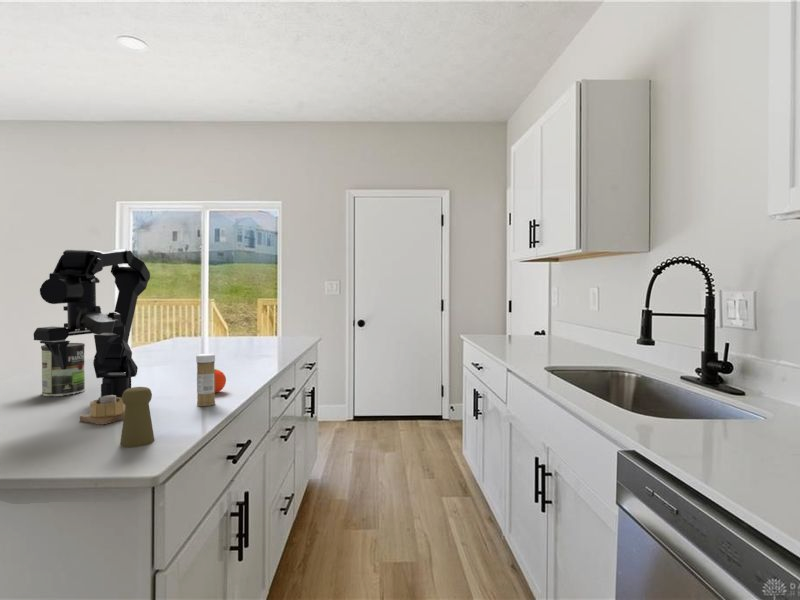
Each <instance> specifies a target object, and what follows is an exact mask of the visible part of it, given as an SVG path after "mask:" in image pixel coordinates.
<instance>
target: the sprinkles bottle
mask: <svg viewBox="0 0 800 600" xmlns="http://www.w3.org/2000/svg"><path fill="white" fill-rule="evenodd" d="M195 360H196V394H197V396H196V397H197V398H196V399H197V402H196V405H197V406H198V407H210V406H214V405H215V404H216V400H215V398H216V396H215V395H216V393H215V371H214V369H215V362H216V354H215V353H200V354H196V359H195Z"/></svg>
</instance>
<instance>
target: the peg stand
mask: <svg viewBox="0 0 800 600" xmlns="http://www.w3.org/2000/svg"><path fill="white" fill-rule="evenodd" d="M99 398H100V403H113V402H116V395H106V396H102V397H101V396H100V397H99ZM122 419H124V414H121V415H117V416H113V417H105V418H95V417H91V416H90V412H89V413H87V414H82V415H79V421H80V422H82V421H85V422H84V423H88V422H92V423H91V424H94V423H98V424H97V425H100V424H106V425H108V424H107V423H110V424H112V423H111V422H113V423H116V422H115V421H117V422H119V421H118V420H120V421H123V420H122Z"/></svg>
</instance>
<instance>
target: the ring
mask: <svg viewBox="0 0 800 600" xmlns="http://www.w3.org/2000/svg"><path fill="white" fill-rule="evenodd" d="M89 413H90V416H91V417H95V418H105V417H113V416H117V415H121V414H124V413H125V404H124V403H123V401H122V398H121V397H116V402H113V403H100V399H99V398H98V399H94V400H91V401H90V403H89Z"/></svg>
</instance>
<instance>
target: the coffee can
mask: <svg viewBox="0 0 800 600" xmlns="http://www.w3.org/2000/svg"><path fill="white" fill-rule="evenodd" d="M85 347H86V344H85V343H82V342H69V344H68V345H67V347H66V354H67V366H66V369H65V370H62V369H61V368H60V366H59V364H58V363H57V361H56V359H55V358H54V356H53V354H52V353H51V352H50V350H49V349H48V348H47V346H46V345H45V344H43V345H41V346H40V349H41V396H42V397H49V396H53V397H62V396H61V395H67V396H70V395H69V394H73V395H76V394H75V393H78V394H80V393H79V392H82V391H84V390H85V391H86V389H85V387H86V385H85ZM85 391H84V392H85ZM82 393H83V392H82Z"/></svg>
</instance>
